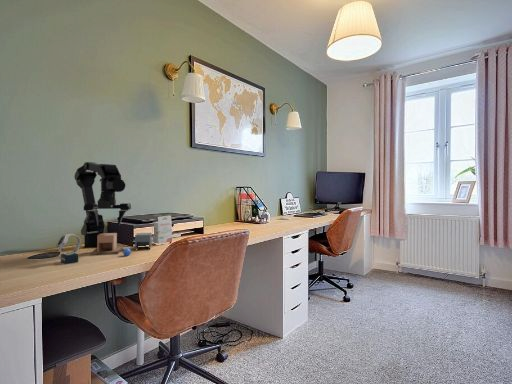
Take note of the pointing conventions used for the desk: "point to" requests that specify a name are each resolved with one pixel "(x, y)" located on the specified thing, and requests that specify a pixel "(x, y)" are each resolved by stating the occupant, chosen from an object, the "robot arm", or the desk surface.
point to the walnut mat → (106, 251)
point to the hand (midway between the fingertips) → (108, 225)
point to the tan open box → (107, 241)
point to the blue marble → (126, 251)
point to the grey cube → (143, 239)
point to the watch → (68, 257)
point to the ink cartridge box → (162, 230)
